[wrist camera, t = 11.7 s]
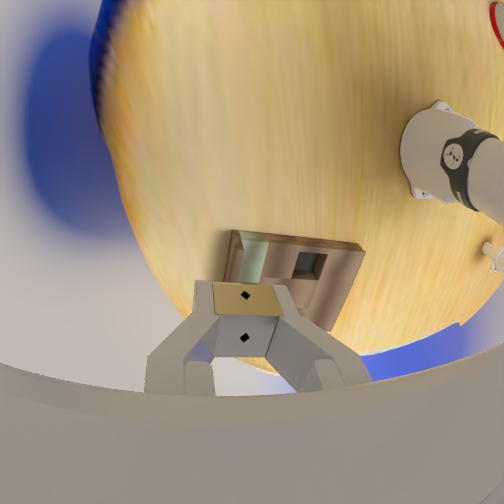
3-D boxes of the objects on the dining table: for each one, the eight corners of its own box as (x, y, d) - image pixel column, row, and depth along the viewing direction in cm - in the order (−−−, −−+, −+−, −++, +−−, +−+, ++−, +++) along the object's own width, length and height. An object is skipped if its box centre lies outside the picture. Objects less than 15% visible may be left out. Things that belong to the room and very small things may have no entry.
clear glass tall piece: (495, 235, 55) (532, 264, 42) (486, 258, 58) (521, 289, 46) (483, 234, 54) (523, 266, 41) (474, 258, 57) (510, 292, 44)
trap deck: (357, 243, 48) (374, 261, 43) (325, 321, 56) (336, 342, 51) (232, 229, 43) (236, 249, 38) (217, 319, 51) (219, 343, 46)
